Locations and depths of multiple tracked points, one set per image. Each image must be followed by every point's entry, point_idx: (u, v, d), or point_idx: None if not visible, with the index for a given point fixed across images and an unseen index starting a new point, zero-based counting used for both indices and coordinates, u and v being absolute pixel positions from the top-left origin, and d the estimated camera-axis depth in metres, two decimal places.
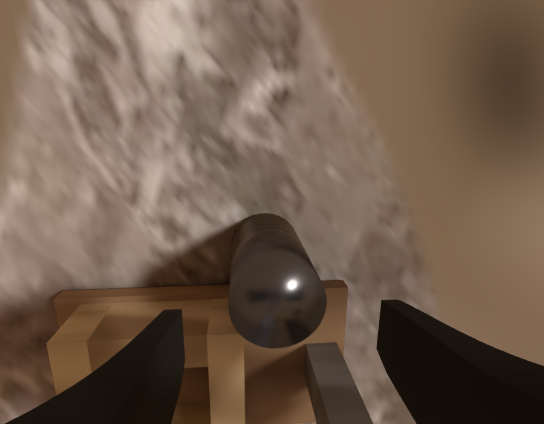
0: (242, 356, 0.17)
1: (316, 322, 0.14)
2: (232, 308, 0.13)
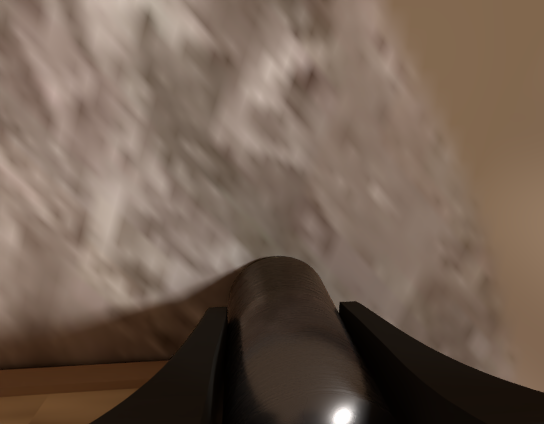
0: None
1: None
2: None
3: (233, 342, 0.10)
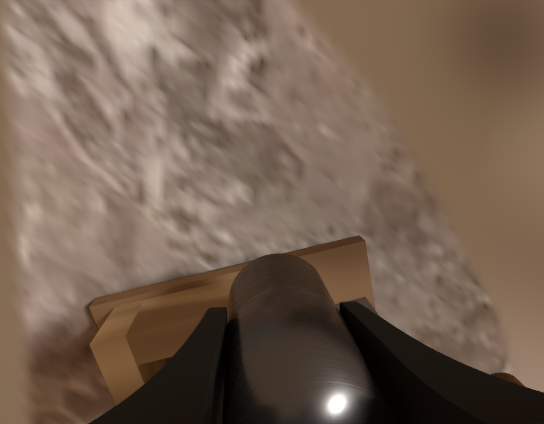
0: None
1: None
2: None
3: (233, 337, 0.10)
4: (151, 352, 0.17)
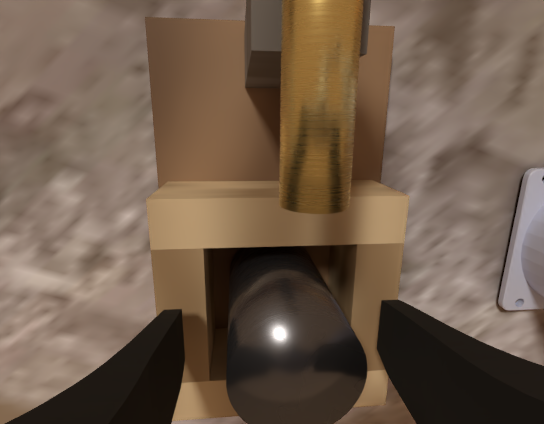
0: (186, 201, 0.11)
1: (353, 396, 0.10)
2: (231, 387, 0.09)
3: (233, 296, 0.12)
4: (195, 361, 0.13)
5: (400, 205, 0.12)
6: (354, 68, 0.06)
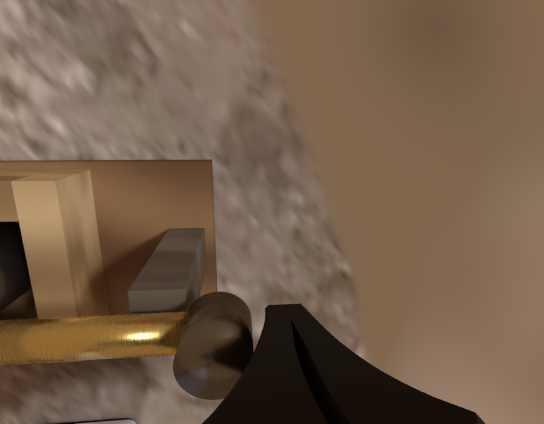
0: (58, 210, 0.15)
1: None
2: None
3: None
4: None
5: None
6: (56, 361, 0.11)
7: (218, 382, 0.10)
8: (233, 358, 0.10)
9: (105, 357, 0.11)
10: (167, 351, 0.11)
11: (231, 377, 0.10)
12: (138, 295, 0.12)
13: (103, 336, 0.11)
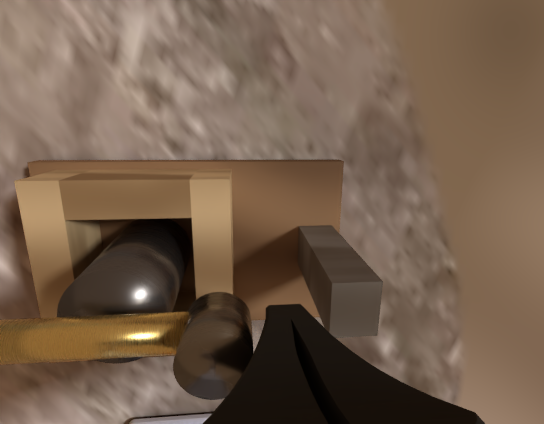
0: (228, 207, 0.16)
1: None
2: (99, 275, 0.12)
3: (149, 242, 0.15)
4: (85, 209, 0.15)
5: None
6: (56, 361, 0.11)
7: (218, 382, 0.10)
8: (233, 358, 0.10)
9: (105, 357, 0.11)
10: (167, 351, 0.11)
11: (232, 377, 0.10)
12: (341, 287, 0.13)
13: (103, 336, 0.11)
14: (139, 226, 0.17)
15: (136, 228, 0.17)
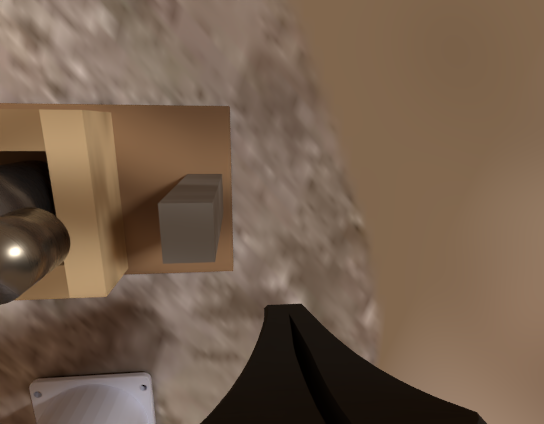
0: (84, 140, 0.15)
1: None
2: None
3: None
4: None
5: (98, 291, 0.17)
6: None
7: None
8: (5, 259, 0.10)
9: None
10: None
11: (7, 280, 0.10)
12: (168, 208, 0.12)
13: None
14: None
15: None
